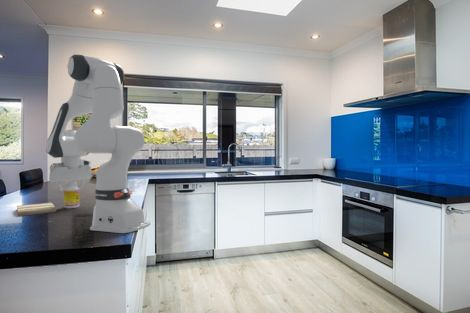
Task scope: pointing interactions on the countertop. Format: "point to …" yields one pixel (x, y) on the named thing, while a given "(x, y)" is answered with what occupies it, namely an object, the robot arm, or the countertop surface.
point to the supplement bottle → (71, 195)
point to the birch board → (35, 209)
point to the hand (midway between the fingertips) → (71, 189)
